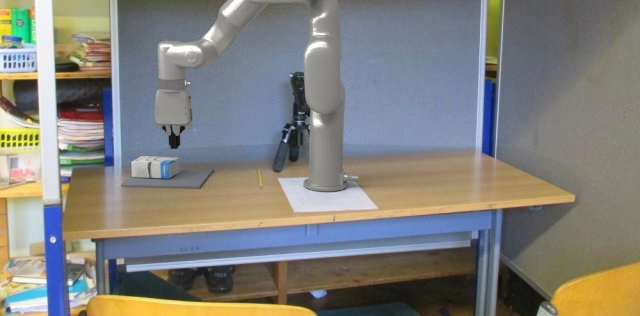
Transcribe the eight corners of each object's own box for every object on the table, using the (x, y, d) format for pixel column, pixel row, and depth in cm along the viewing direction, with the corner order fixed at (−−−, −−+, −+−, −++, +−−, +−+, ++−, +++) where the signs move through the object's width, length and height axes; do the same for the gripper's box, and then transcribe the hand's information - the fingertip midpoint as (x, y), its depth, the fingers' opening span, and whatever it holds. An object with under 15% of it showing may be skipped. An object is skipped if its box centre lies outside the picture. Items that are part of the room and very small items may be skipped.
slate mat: (213, 170, 201) (213, 168, 201) (199, 188, 182) (199, 186, 182) (142, 169, 202) (142, 167, 202) (121, 186, 182) (121, 184, 182)
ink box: (169, 163, 187) (130, 161, 188) (169, 179, 188) (130, 177, 189) (179, 156, 195) (142, 154, 197) (180, 172, 196) (142, 170, 198)
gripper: (201, 84, 189) (203, 146, 193) (150, 82, 189) (152, 144, 194) (195, 87, 182) (197, 151, 186) (142, 86, 182) (145, 150, 186)
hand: (174, 148), depth 190 cm, fingers closed
